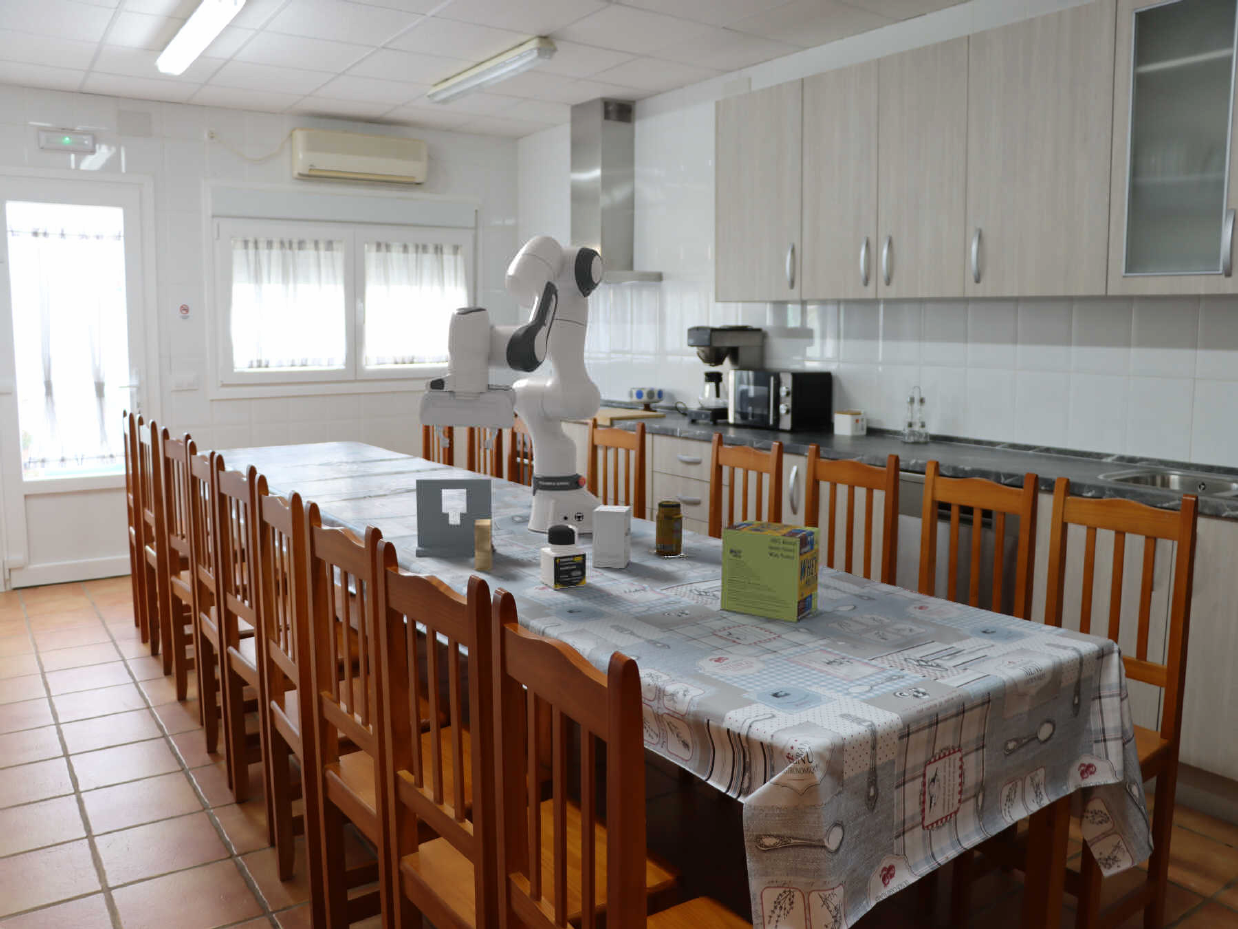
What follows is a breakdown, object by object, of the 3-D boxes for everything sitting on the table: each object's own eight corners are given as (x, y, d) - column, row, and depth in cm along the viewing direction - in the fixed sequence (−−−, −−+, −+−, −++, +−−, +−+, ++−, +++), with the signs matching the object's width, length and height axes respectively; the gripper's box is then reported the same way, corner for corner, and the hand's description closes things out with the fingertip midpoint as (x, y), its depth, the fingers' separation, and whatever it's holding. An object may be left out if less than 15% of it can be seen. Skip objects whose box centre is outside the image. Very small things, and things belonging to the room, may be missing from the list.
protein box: (797, 623, 173) (800, 537, 171) (719, 609, 181) (721, 528, 179) (818, 609, 182) (821, 527, 180) (743, 596, 190) (745, 518, 188)
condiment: (676, 549, 230) (677, 499, 228) (691, 557, 222) (692, 505, 220) (648, 551, 228) (648, 500, 226) (662, 559, 220) (662, 507, 218)
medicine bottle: (554, 590, 194) (553, 531, 192) (540, 582, 200) (539, 524, 198) (586, 586, 197) (586, 528, 195) (571, 578, 203) (571, 521, 201)
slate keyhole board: (492, 547, 231) (491, 476, 228) (491, 555, 223) (490, 481, 220) (420, 548, 229) (418, 476, 227) (415, 556, 221) (413, 482, 219)
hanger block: (494, 559, 219) (494, 515, 217) (492, 570, 209) (491, 524, 208) (476, 559, 219) (475, 515, 217) (473, 570, 209) (472, 525, 207)
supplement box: (624, 569, 211) (625, 511, 209) (591, 567, 212) (591, 510, 210) (631, 561, 218) (631, 505, 216) (599, 559, 219) (599, 504, 217)
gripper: (518, 385, 210) (516, 449, 211) (424, 381, 211) (423, 445, 212) (514, 385, 204) (512, 451, 205) (417, 381, 205) (416, 447, 206)
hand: (466, 448), depth 209 cm, fingers open, 8 cm apart
